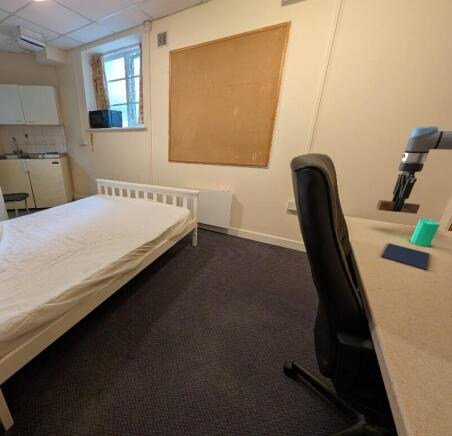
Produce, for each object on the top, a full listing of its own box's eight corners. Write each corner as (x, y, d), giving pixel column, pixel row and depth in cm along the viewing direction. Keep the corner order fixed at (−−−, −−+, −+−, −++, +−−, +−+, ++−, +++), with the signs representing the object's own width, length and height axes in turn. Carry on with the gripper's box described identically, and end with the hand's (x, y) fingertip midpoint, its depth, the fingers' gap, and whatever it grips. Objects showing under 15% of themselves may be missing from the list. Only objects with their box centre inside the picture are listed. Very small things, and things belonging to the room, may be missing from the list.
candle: (411, 239, 104) (421, 215, 100) (430, 243, 100) (442, 219, 95) (409, 242, 101) (420, 218, 96) (429, 247, 96) (441, 222, 92)
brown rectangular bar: (413, 212, 108) (417, 203, 106) (417, 214, 105) (421, 205, 103) (376, 208, 115) (378, 199, 113) (378, 210, 111) (381, 201, 110)
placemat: (388, 244, 100) (389, 243, 99) (428, 254, 91) (429, 253, 91) (381, 257, 89) (381, 256, 89) (426, 270, 80) (426, 269, 80)
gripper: (394, 160, 110) (379, 205, 118) (408, 164, 97) (390, 214, 105) (415, 161, 107) (398, 206, 115) (433, 164, 93) (412, 216, 101)
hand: (394, 210), depth 110 cm, fingers closed on brown rectangular bar, 4 cm apart
